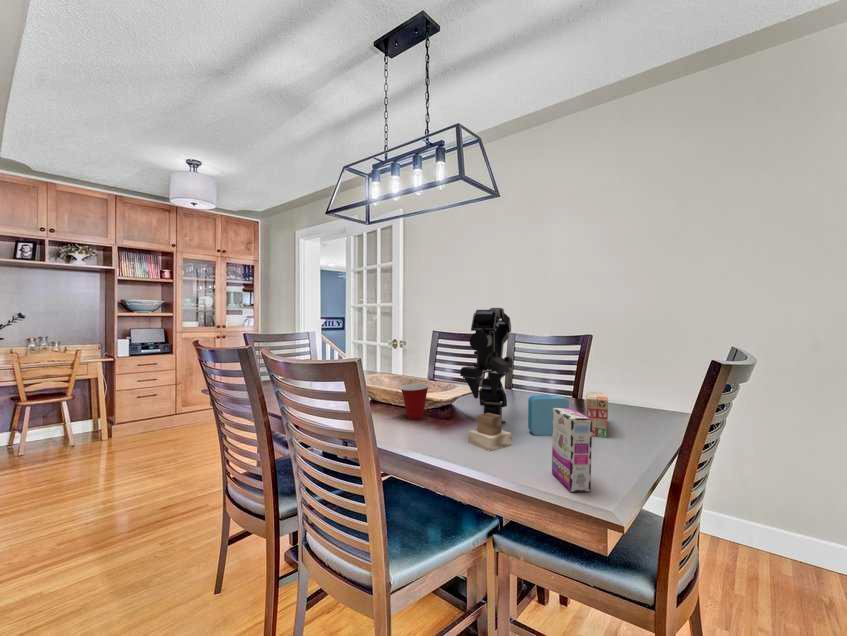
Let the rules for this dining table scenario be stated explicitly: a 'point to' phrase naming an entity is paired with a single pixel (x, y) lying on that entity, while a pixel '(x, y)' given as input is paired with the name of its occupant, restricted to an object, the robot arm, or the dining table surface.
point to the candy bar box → (572, 449)
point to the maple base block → (489, 439)
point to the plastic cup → (414, 399)
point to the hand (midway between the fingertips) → (485, 396)
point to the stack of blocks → (597, 412)
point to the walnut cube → (489, 424)
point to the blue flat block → (543, 412)
